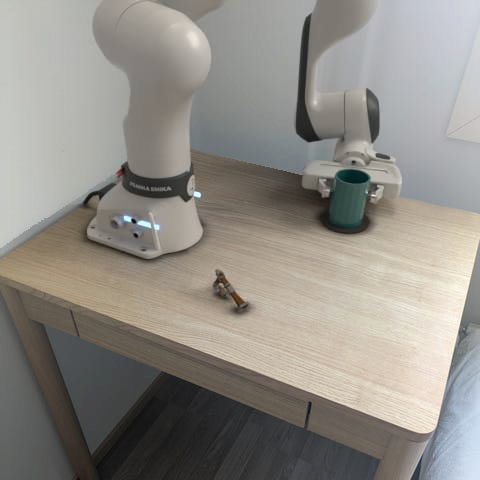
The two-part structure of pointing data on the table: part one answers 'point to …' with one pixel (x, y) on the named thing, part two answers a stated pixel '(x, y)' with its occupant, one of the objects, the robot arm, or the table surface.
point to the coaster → (329, 225)
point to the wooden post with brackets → (229, 290)
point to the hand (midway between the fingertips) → (349, 197)
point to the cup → (349, 197)
